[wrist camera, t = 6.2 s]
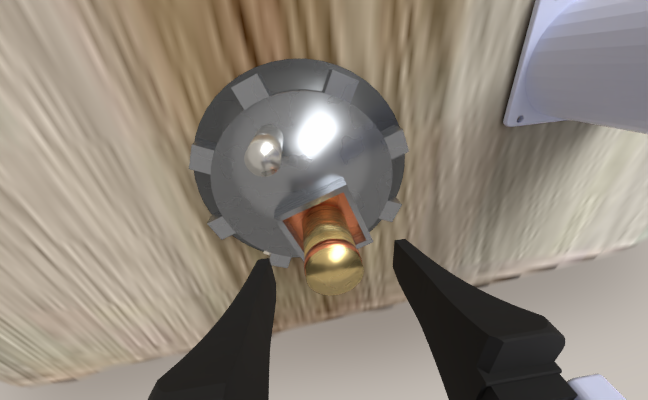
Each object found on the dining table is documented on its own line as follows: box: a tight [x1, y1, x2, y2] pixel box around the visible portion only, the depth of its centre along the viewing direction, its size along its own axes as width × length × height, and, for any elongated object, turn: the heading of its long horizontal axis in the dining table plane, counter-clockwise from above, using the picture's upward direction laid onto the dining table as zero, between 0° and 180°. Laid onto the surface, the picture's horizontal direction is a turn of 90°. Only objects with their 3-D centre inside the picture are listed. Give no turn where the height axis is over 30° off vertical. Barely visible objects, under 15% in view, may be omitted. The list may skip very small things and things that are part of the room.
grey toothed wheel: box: [189, 70, 409, 268], centre depth 15 cm, size 14×14×6 cm
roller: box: [302, 205, 364, 296], centre depth 15 cm, size 3×3×5 cm
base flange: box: [194, 59, 405, 255], centre depth 18 cm, size 15×15×1 cm
